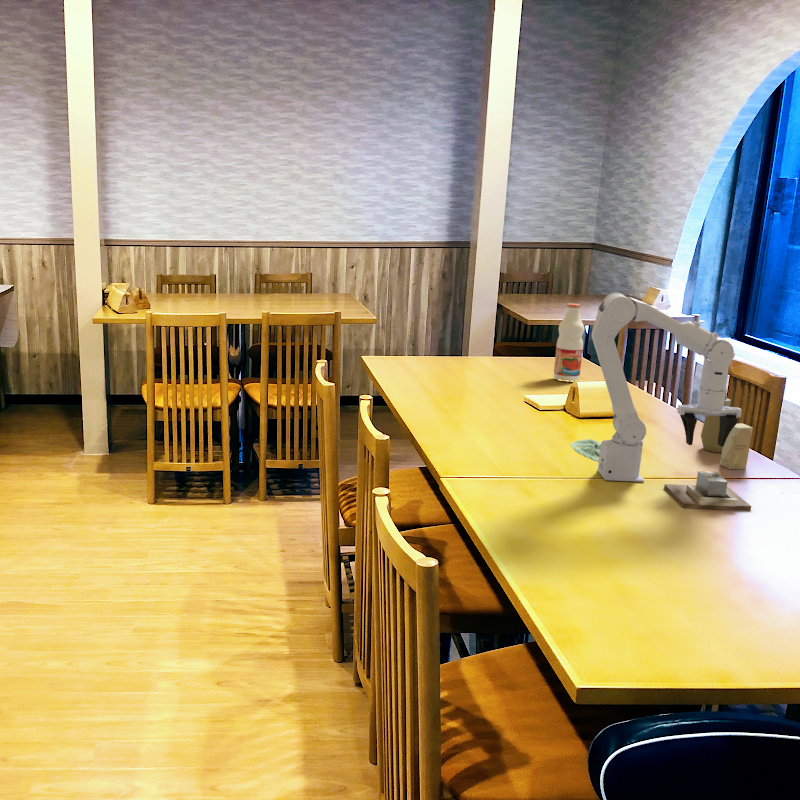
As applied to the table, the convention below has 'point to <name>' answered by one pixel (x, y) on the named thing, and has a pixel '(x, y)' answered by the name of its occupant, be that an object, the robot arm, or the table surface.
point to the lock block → (711, 484)
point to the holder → (705, 498)
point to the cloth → (588, 448)
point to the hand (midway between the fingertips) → (704, 444)
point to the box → (737, 447)
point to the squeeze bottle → (712, 430)
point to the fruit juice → (569, 345)
